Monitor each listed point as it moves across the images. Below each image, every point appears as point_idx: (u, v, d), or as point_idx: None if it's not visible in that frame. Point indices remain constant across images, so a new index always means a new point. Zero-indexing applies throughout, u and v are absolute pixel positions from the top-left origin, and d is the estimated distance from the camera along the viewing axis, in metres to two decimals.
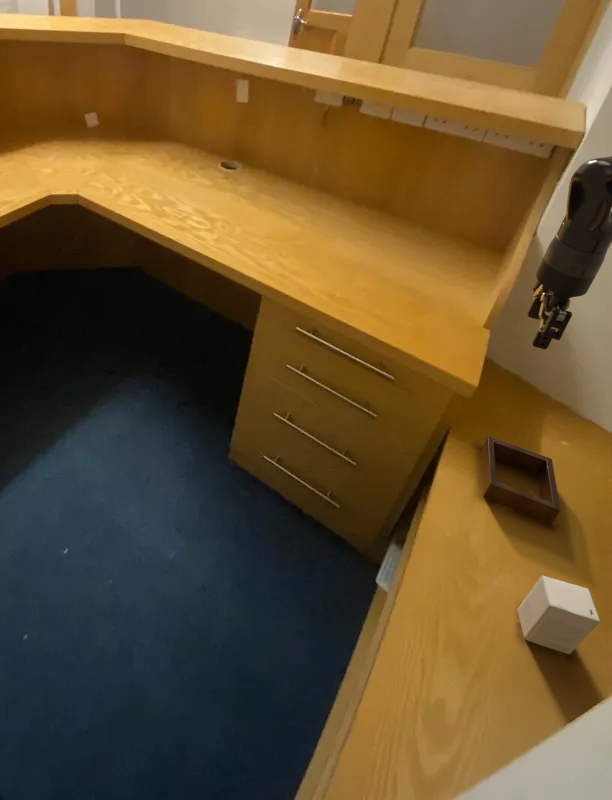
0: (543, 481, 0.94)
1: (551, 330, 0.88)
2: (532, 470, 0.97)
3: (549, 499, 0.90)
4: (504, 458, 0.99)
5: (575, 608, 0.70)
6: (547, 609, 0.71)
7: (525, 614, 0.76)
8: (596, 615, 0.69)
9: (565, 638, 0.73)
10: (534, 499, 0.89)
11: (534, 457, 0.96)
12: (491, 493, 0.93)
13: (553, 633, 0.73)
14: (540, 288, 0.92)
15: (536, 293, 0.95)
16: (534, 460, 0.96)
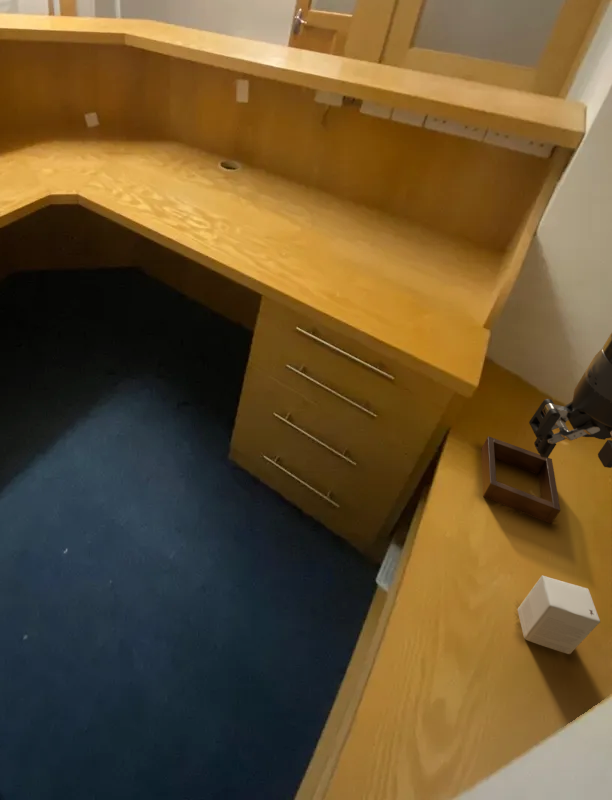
0: (543, 481, 0.94)
1: None
2: (532, 470, 0.97)
3: (549, 499, 0.90)
4: (504, 458, 0.99)
5: (575, 608, 0.70)
6: (547, 609, 0.71)
7: (525, 614, 0.76)
8: (596, 615, 0.69)
9: (565, 638, 0.73)
10: (534, 499, 0.89)
11: (534, 457, 0.96)
12: (491, 493, 0.93)
13: (553, 633, 0.73)
14: None
15: None
16: (534, 460, 0.96)
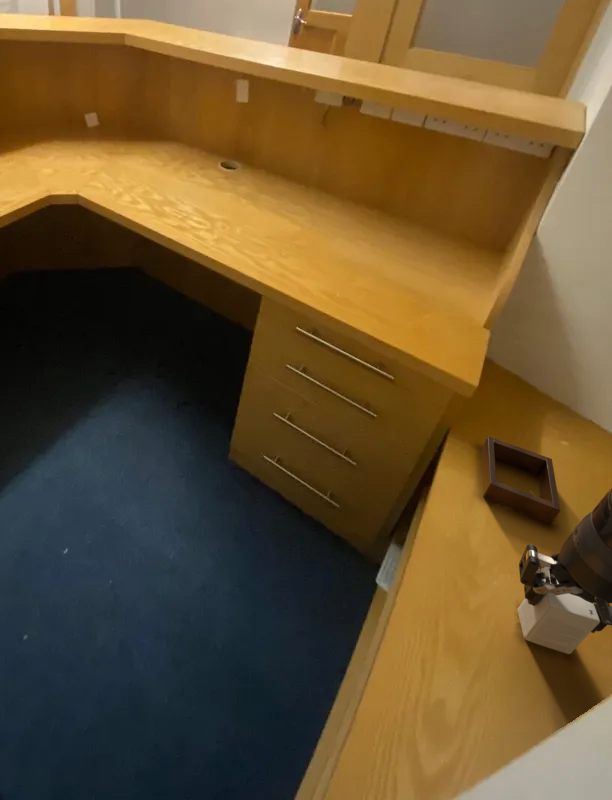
0: (543, 481, 0.94)
1: None
2: (532, 470, 0.97)
3: (549, 499, 0.90)
4: (504, 458, 0.99)
5: (575, 608, 0.70)
6: (547, 609, 0.71)
7: (525, 614, 0.76)
8: (596, 615, 0.69)
9: (565, 638, 0.73)
10: (534, 499, 0.89)
11: (534, 457, 0.96)
12: (491, 493, 0.93)
13: (553, 633, 0.73)
14: None
15: None
16: (534, 460, 0.96)
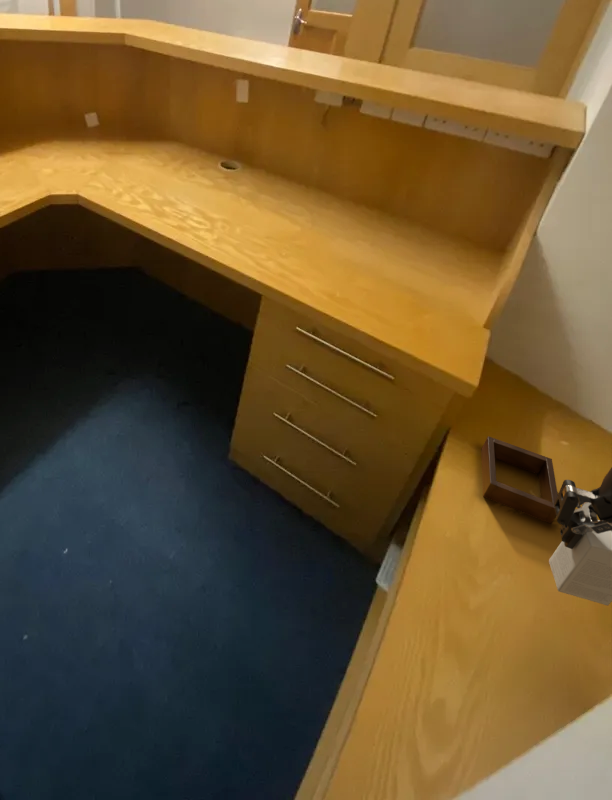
0: (543, 481, 0.94)
1: None
2: (532, 470, 0.97)
3: (549, 499, 0.90)
4: (504, 458, 0.99)
5: None
6: (587, 550, 0.65)
7: (561, 560, 0.70)
8: None
9: (606, 583, 0.66)
10: (534, 499, 0.89)
11: (534, 457, 0.96)
12: (491, 493, 0.93)
13: (593, 578, 0.67)
14: None
15: None
16: (534, 460, 0.96)
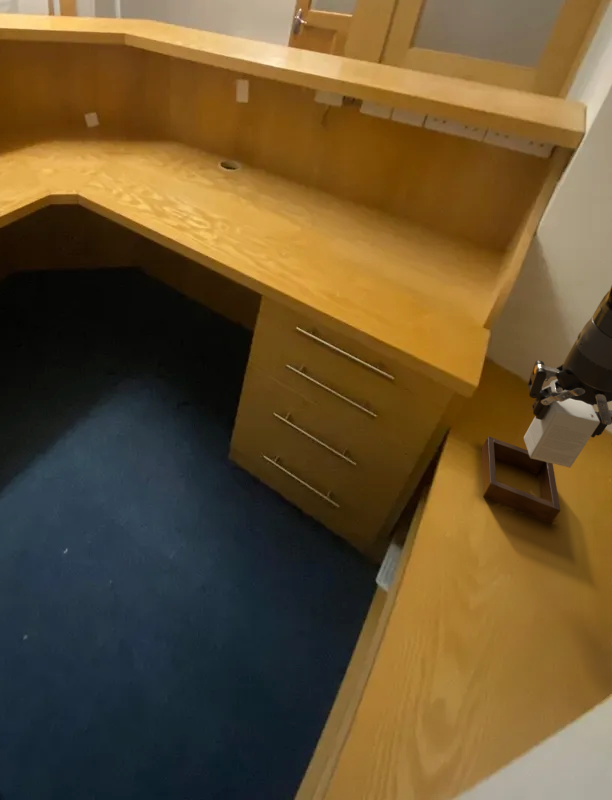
0: (543, 481, 0.94)
1: None
2: (532, 470, 0.97)
3: (549, 499, 0.90)
4: (504, 458, 0.99)
5: (578, 413, 0.79)
6: (553, 417, 0.80)
7: (533, 433, 0.85)
8: (596, 417, 0.78)
9: (569, 446, 0.82)
10: (534, 499, 0.89)
11: None
12: (491, 493, 0.93)
13: (558, 442, 0.82)
14: None
15: None
16: (534, 460, 0.96)
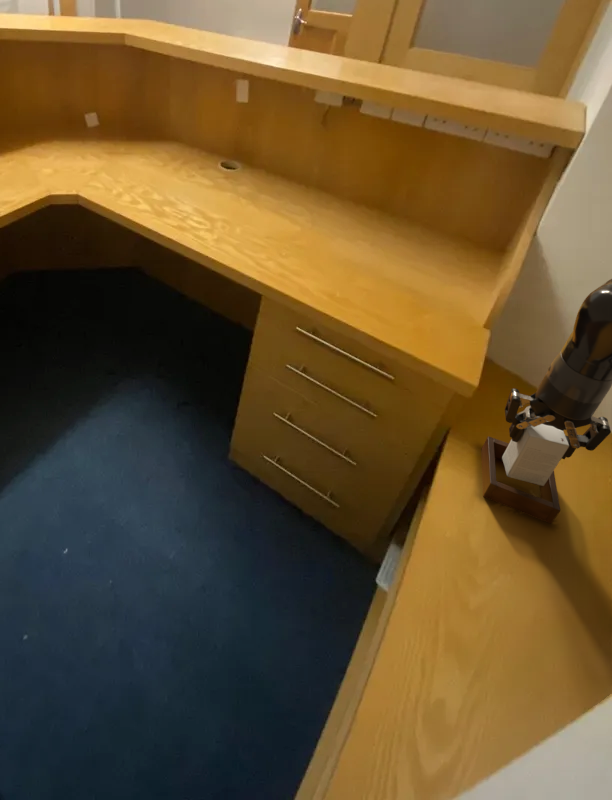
0: None
1: None
2: None
3: (549, 499, 0.90)
4: None
5: (549, 437, 0.86)
6: (527, 440, 0.87)
7: (510, 453, 0.93)
8: (566, 441, 0.86)
9: (542, 466, 0.89)
10: (534, 499, 0.89)
11: None
12: (491, 493, 0.93)
13: (532, 463, 0.89)
14: None
15: None
16: None
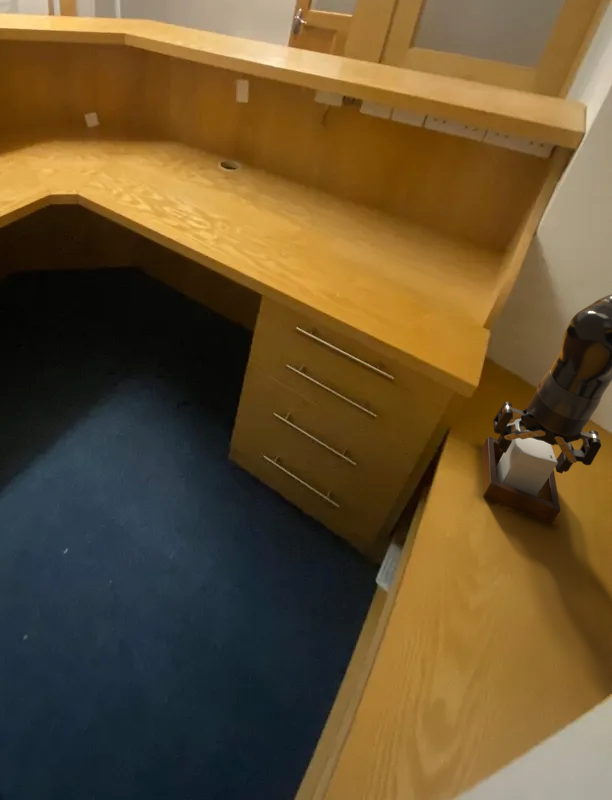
0: None
1: None
2: None
3: (549, 499, 0.90)
4: None
5: (538, 454, 0.89)
6: (516, 457, 0.90)
7: (501, 469, 0.95)
8: (555, 458, 0.88)
9: (531, 482, 0.91)
10: (534, 499, 0.89)
11: None
12: (491, 493, 0.93)
13: (522, 479, 0.92)
14: None
15: None
16: None
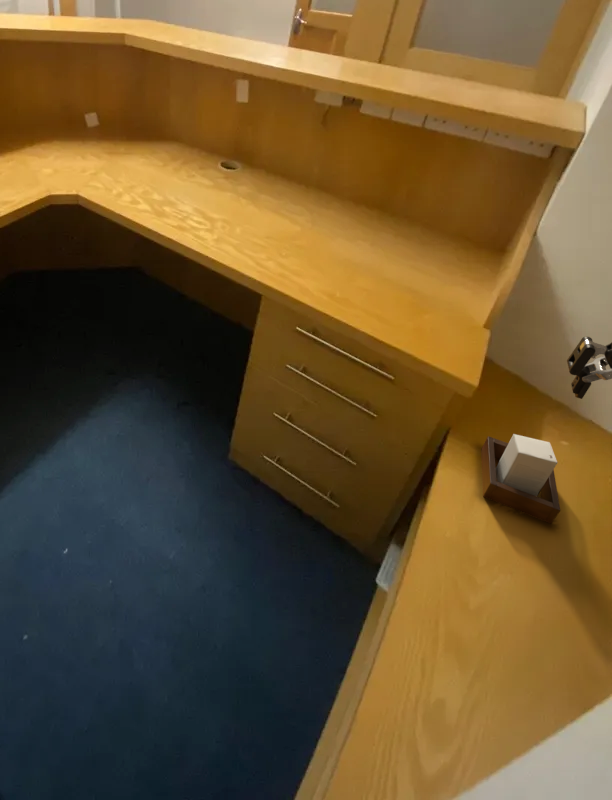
0: None
1: None
2: None
3: (549, 499, 0.90)
4: None
5: (538, 454, 0.89)
6: (516, 456, 0.90)
7: (501, 469, 0.95)
8: (554, 458, 0.88)
9: (531, 482, 0.91)
10: (534, 499, 0.89)
11: None
12: (491, 493, 0.93)
13: (522, 479, 0.92)
14: None
15: None
16: None
